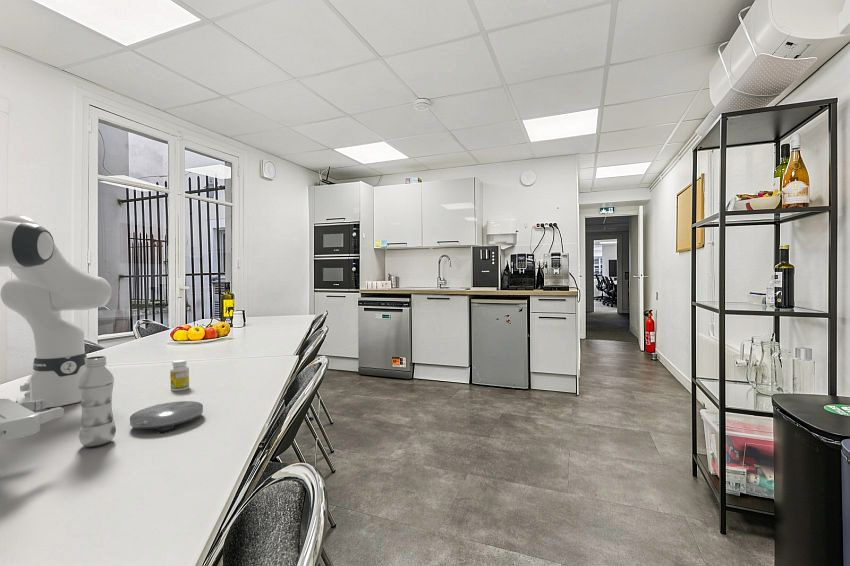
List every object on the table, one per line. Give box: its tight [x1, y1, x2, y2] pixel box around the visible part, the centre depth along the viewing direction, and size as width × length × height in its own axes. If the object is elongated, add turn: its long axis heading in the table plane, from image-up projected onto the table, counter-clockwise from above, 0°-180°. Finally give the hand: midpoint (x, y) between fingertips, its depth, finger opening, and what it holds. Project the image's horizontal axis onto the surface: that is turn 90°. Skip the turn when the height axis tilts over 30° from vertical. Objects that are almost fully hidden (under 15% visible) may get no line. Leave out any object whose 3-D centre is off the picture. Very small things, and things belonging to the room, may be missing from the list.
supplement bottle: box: [169, 359, 190, 392], centre depth 132 cm, size 5×5×10 cm
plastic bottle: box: [77, 355, 117, 448], centre depth 89 cm, size 6×7×20 cm
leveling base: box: [129, 400, 204, 434], centre depth 102 cm, size 16×16×3 cm
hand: (54, 407), depth 83 cm, fingers open, 8 cm apart
